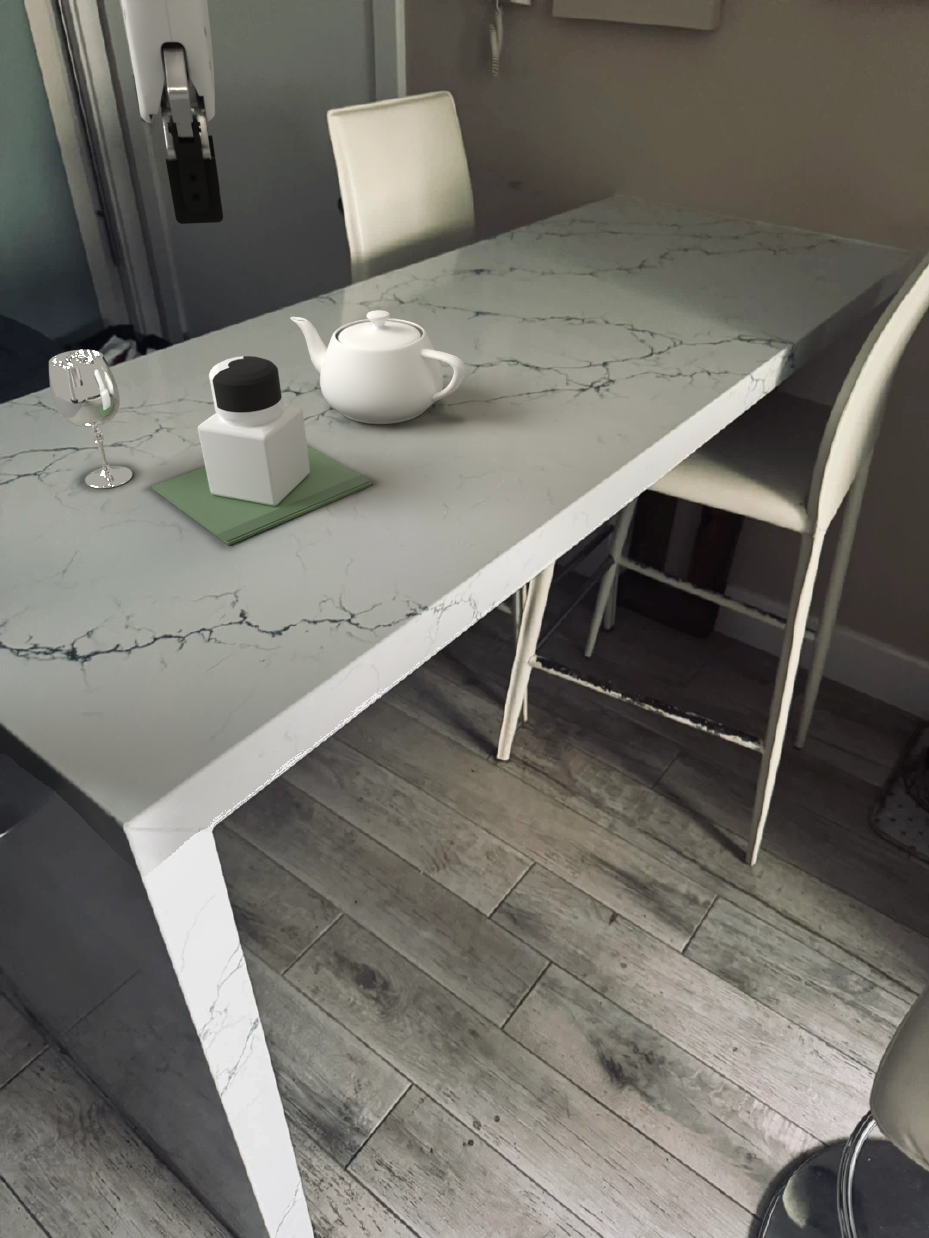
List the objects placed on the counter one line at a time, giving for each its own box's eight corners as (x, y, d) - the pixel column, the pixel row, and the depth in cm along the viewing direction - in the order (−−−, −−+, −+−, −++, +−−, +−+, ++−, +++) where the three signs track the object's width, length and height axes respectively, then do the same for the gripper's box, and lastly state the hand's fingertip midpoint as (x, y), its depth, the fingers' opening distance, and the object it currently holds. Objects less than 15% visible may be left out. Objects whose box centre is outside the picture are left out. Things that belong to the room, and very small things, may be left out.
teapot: (491, 402, 100) (492, 308, 94) (433, 450, 91) (431, 349, 84) (331, 369, 108) (323, 280, 102) (263, 410, 99) (249, 314, 92)
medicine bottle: (311, 473, 86) (297, 354, 79) (276, 508, 81) (257, 384, 73) (248, 462, 88) (228, 345, 81) (209, 495, 83) (184, 373, 75)
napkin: (228, 545, 76) (228, 542, 76) (152, 488, 84) (151, 485, 84) (372, 484, 85) (372, 481, 85) (290, 438, 93) (289, 435, 93)
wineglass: (151, 473, 87) (123, 355, 79) (104, 497, 83) (70, 376, 76) (113, 459, 89) (81, 343, 82) (65, 481, 85) (28, 362, 78)
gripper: (101, -85, 60) (151, 186, 71) (75, -99, 47) (142, 238, 57) (212, -82, 62) (245, 183, 72) (218, -95, 49) (258, 232, 59)
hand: (199, 207), depth 65 cm, fingers open, 9 cm apart
